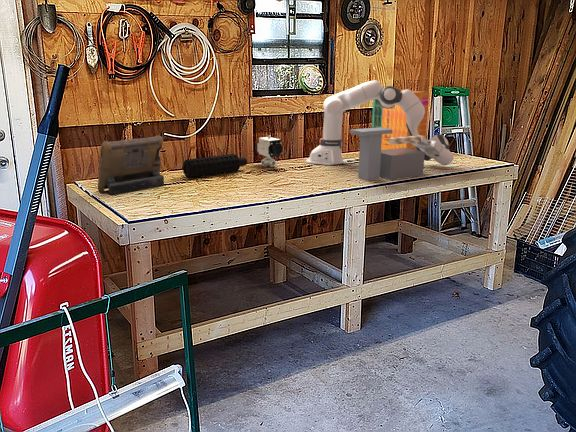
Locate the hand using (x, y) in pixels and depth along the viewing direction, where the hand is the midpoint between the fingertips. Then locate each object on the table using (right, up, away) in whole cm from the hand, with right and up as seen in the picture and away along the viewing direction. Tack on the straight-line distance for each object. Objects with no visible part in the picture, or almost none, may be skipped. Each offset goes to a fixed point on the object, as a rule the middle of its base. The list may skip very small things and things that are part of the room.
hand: (417, 138), depth 312 cm
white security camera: (-83, -14, +20) cm, 86 cm away
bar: (-6, -3, -3) cm, 7 cm away
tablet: (-146, -30, -37) cm, 154 cm away
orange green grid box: (+4, +2, +79) cm, 79 cm away
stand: (-28, -23, -10) cm, 38 cm away
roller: (-110, -20, -2) cm, 112 cm away
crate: (-11, -20, -1) cm, 23 cm away
